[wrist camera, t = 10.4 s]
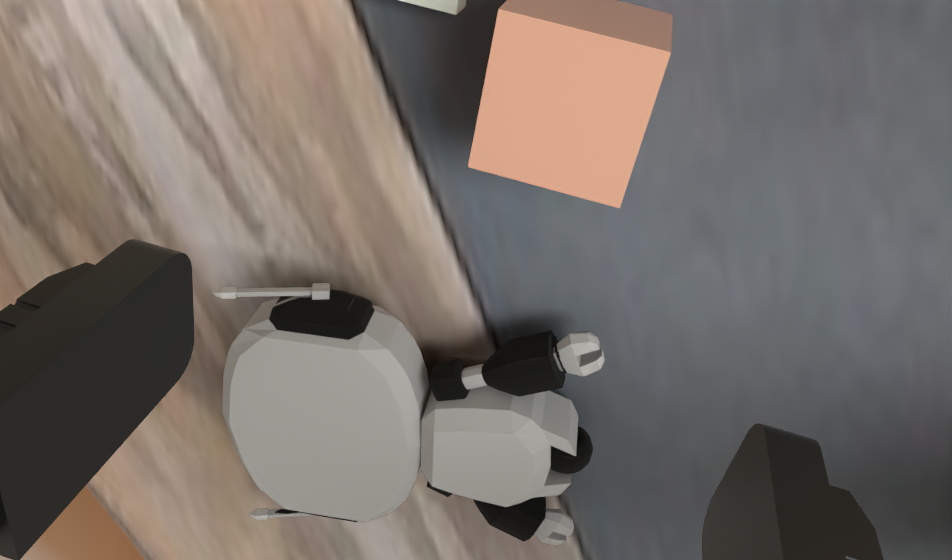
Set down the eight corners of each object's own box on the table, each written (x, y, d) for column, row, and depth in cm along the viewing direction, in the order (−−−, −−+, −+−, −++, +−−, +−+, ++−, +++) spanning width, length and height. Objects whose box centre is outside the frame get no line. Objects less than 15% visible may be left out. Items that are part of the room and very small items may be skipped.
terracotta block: (672, 13, 22) (671, 52, 19) (628, 150, 25) (619, 208, 21) (528, -22, 23) (498, 8, 19) (499, 115, 25) (467, 167, 22)
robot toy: (615, 284, 29) (242, 237, 30) (616, 356, 25) (189, 298, 26) (576, 503, 35) (271, 455, 37) (571, 586, 31) (232, 529, 33)
